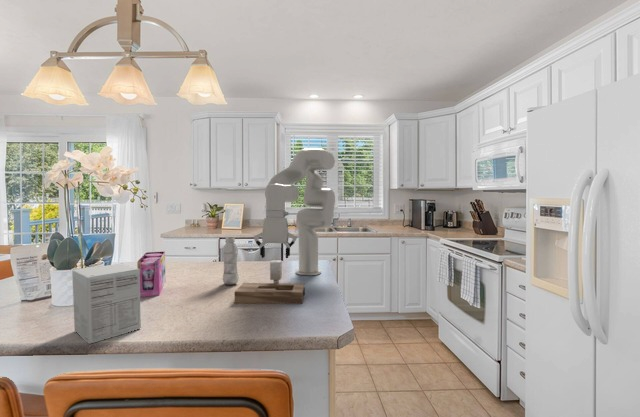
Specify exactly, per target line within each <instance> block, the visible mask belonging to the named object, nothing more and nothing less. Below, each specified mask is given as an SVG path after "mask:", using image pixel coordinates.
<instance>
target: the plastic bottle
mask: <svg viewBox="0 0 640 417" xmlns="http://www.w3.org/2000/svg"><path fill="white" fill-rule="evenodd" d="M235 240H236V239H235V237H232V236H230V237H225V240H224V241H225V244H224V246H222V250H221V252H222V259H223V273H222V283H223V284H224V285H231V286H232V285H235V284H238V283H239V280H240V279H239V272H238V252H239V249H238V247H237V246H236V244H235Z"/></svg>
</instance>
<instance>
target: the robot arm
mask: <svg viewBox="0 0 640 417" xmlns="http://www.w3.org/2000/svg"><path fill="white" fill-rule="evenodd" d="M335 162H336V160H335V156H334V154H333V153H332V152H330V151H328V150H326V149H323V148H320V147H319V148H303V149H300V150H298V151H296V154H295V156H294V158H293V159H292V161H291V162H290V164H289V165H288V167H286V168H285V169H283V170H281V171H279V172H278V173H276V174H275V175H274V176H272V178H271V179H270V180H269V182H268V183H267V185H266V187H265V191H264V196H265V217H264V219H263V224H262V232H260V233H258V234H256V235H254V236H253V239H254V242H255V243H256V245H257V246H259V249H260V251H259V253H260V254H259V255H260V256H261V258H262V259H263V258H265V257H266V248H265V245H266V244H284V246H286V247H285V258H286V259H288V258H289V257H290V256H291V247H292V246H293V245H294V244H295V242H296V241H297V239H298V268H297V269H295V274H297V275H299V276H317V275H320V274H321V273H322V269H320V268H319V237H318V233H317V232H316V231H315V229H321V230H323V229H329V228H330V227H331V226H332V223H333V217H334V210H335V206H336V205H335V203H336V194H335V192H334V190H333V189H331V188H327V187H326V188H323V184H324V179H323V177H322V176H321V175H320V174H319V172H318V171H324V170H325V171H326V170H327V171H328V170H332V169H333V168H334V166H335ZM305 178H306V179H305ZM304 179H305V187H304V192H303V199H302V202H303V205H304V206H306V208H301V209H299V210H298V212H296V213H297V214H296V225H297V230H298V237H297V235H294V234H292V233H290V232H289V224H288V219H287V218H286V216H289V212H288V211H286V203H294V202H296V201H298V198H299V195H300V192H299V189H298V187H297V186H296V185H294V184H295V183H297V182H301V181H302V180H304ZM260 237H261V240H262V242H261V241H260V240H259V238H260ZM289 238H291V239H292V240H291V241H290V242H289Z"/></svg>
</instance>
